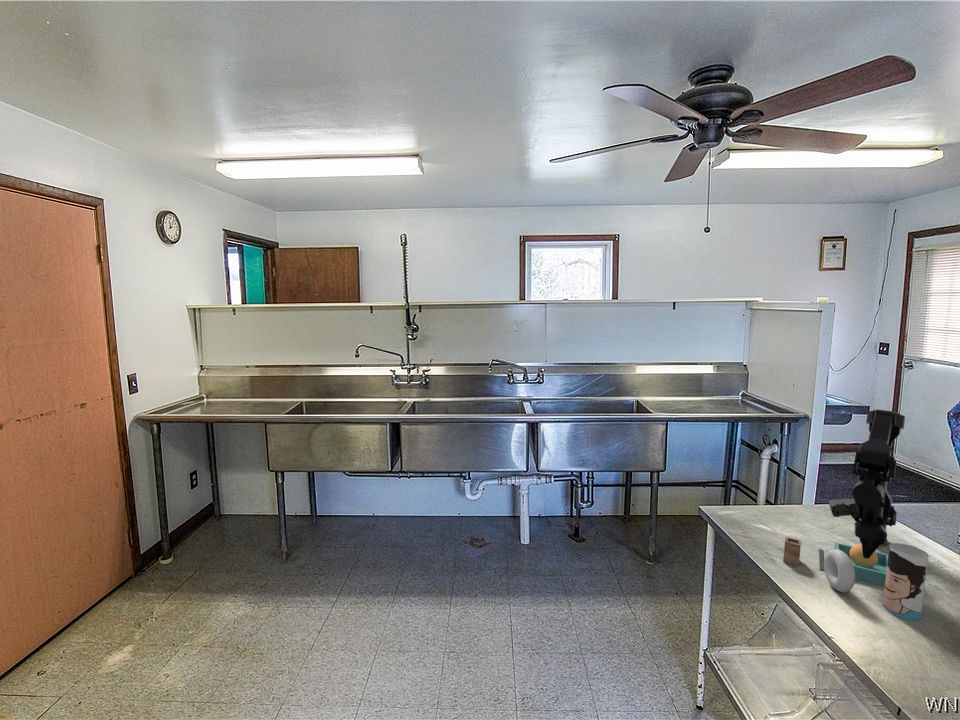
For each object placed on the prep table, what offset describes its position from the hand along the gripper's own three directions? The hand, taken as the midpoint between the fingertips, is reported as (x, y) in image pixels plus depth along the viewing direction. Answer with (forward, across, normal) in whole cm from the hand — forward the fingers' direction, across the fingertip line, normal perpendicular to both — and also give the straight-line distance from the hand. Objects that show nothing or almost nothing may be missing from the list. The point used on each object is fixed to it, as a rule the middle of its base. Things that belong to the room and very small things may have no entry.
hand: (864, 550), depth 128 cm
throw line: (+6, 0, -9) cm, 11 cm away
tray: (+6, 0, 0) cm, 6 cm away
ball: (+2, -1, 0) cm, 2 cm away
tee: (+6, +6, -16) cm, 18 cm away
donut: (+6, +15, -6) cm, 17 cm away
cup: (+6, +17, +6) cm, 19 cm away
